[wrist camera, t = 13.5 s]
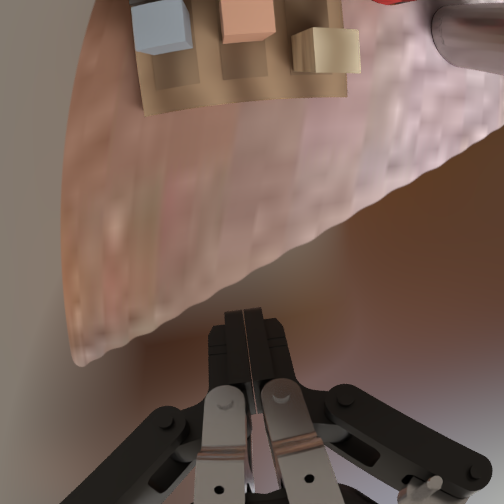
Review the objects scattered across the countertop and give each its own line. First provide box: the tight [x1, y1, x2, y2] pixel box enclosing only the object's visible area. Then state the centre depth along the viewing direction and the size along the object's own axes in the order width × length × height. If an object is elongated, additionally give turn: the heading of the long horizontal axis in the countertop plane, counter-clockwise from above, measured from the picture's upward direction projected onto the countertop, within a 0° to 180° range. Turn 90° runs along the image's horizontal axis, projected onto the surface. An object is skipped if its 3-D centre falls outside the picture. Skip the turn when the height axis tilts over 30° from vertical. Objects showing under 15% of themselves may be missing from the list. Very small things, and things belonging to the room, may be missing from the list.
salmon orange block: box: [219, 0, 276, 44], centre depth 23 cm, size 4×4×8 cm
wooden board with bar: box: [129, 0, 347, 117], centre depth 27 cm, size 22×16×4 cm
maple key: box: [291, 27, 361, 74], centre depth 25 cm, size 4×4×8 cm
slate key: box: [131, 0, 193, 55], centre depth 23 cm, size 4×4×8 cm
